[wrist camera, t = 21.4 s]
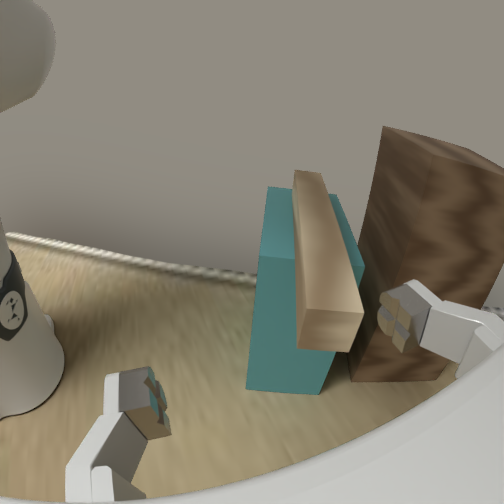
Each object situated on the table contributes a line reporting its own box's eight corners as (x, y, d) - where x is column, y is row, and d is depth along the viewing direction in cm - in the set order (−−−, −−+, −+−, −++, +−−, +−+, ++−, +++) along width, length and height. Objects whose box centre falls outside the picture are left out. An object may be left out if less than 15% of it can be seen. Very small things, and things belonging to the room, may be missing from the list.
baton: (296, 348, 16) (306, 308, 14) (291, 193, 34) (294, 169, 33) (348, 352, 16) (364, 313, 14) (316, 197, 34) (320, 173, 33)
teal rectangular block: (245, 389, 32) (259, 255, 23) (256, 301, 45) (267, 186, 36) (318, 394, 32) (365, 266, 23) (312, 307, 44) (336, 194, 36)
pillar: (350, 381, 33) (432, 154, 20) (338, 309, 44) (382, 125, 31) (435, 379, 33) (532, 186, 19) (411, 313, 44) (467, 148, 30)
